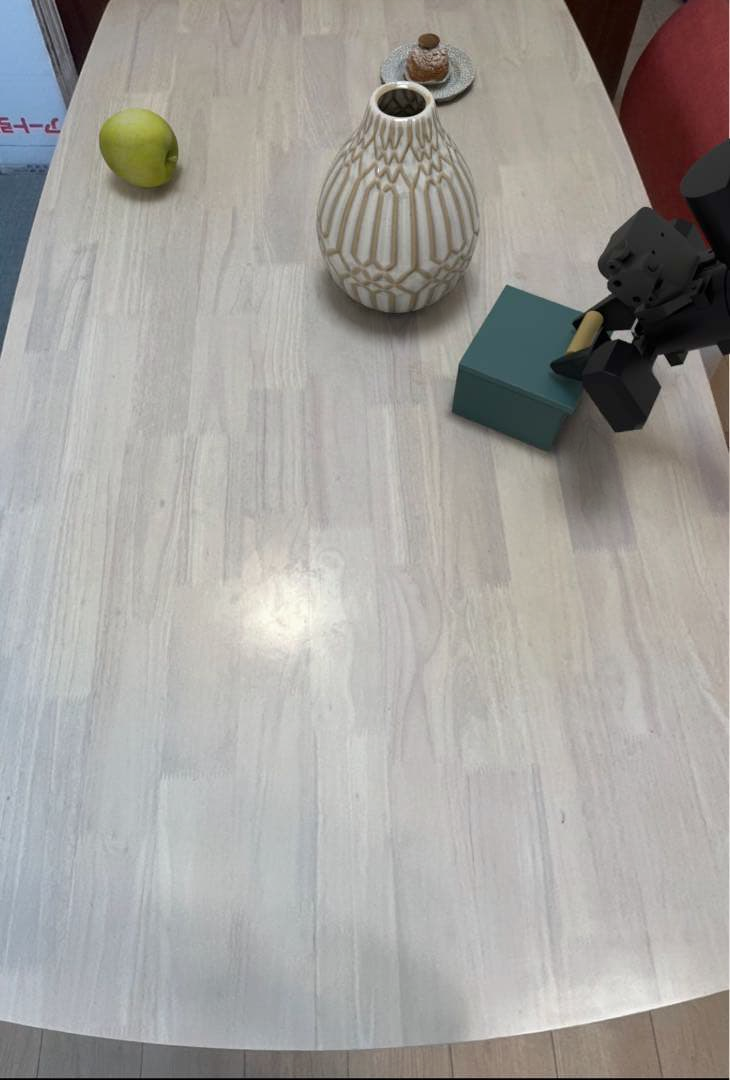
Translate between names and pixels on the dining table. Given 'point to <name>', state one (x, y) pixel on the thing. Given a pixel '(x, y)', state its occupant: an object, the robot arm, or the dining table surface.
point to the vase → (398, 205)
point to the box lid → (530, 347)
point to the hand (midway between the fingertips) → (563, 346)
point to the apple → (139, 147)
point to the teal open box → (506, 411)
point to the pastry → (430, 67)
